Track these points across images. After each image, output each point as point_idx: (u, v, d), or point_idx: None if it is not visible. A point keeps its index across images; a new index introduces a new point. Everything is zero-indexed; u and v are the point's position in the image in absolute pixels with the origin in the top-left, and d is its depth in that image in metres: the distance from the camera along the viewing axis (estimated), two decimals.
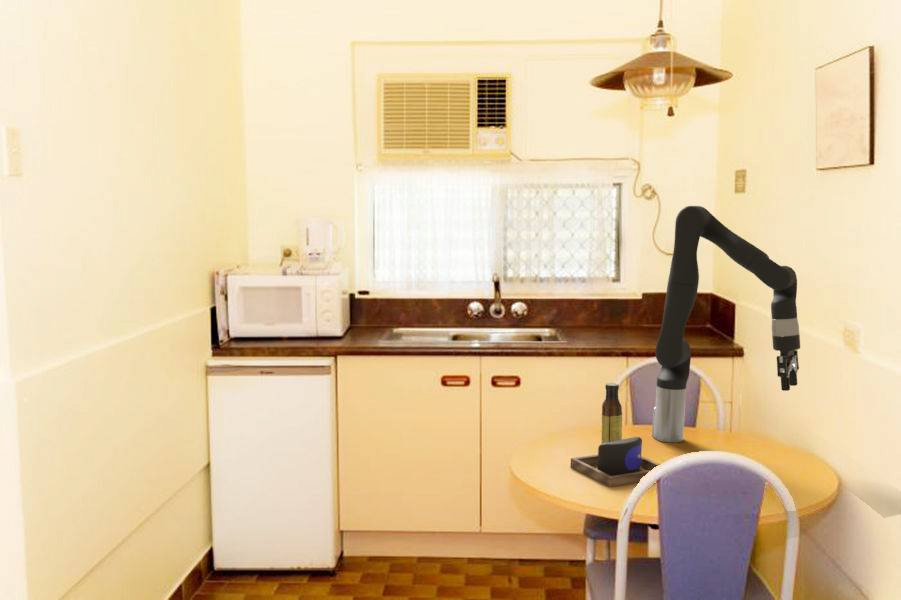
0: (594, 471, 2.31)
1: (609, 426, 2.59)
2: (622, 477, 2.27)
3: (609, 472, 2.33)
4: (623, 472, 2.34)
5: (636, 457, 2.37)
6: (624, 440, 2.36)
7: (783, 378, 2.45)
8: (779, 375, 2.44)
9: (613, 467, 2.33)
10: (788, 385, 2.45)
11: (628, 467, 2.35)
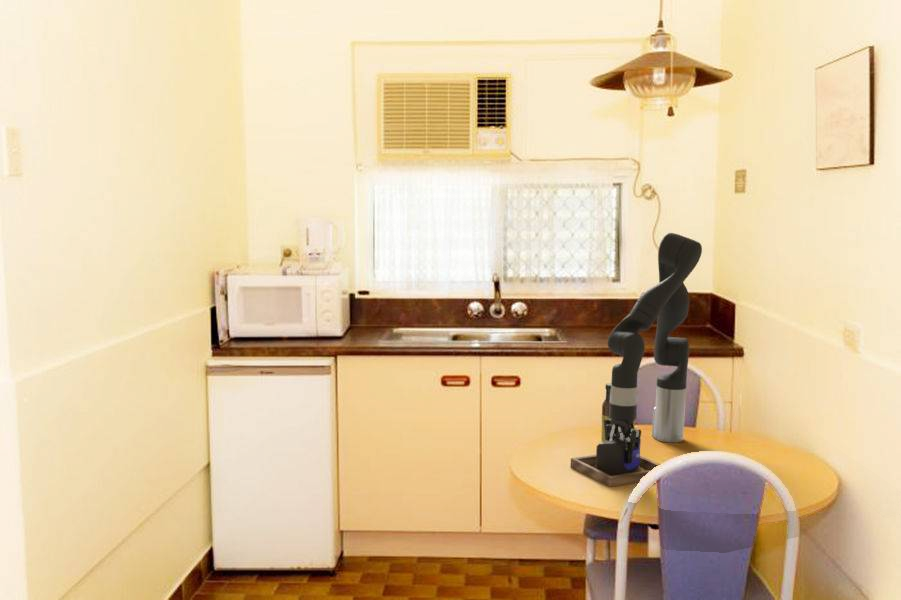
0: (594, 471, 2.31)
1: None
2: (622, 477, 2.27)
3: (607, 471, 2.33)
4: (621, 471, 2.34)
5: (635, 456, 2.37)
6: None
7: None
8: None
9: (611, 466, 2.33)
10: None
11: (626, 466, 2.35)
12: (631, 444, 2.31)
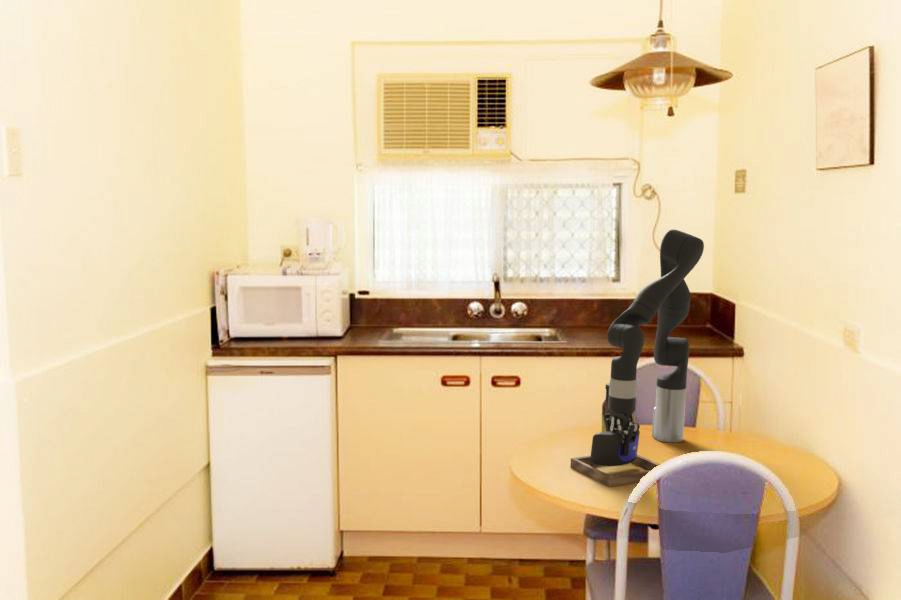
0: (594, 471, 2.31)
1: (609, 426, 2.59)
2: (622, 477, 2.27)
3: (601, 461, 2.35)
4: (616, 463, 2.36)
5: (631, 449, 2.38)
6: None
7: None
8: None
9: (605, 457, 2.35)
10: None
11: (621, 458, 2.36)
12: (628, 437, 2.32)
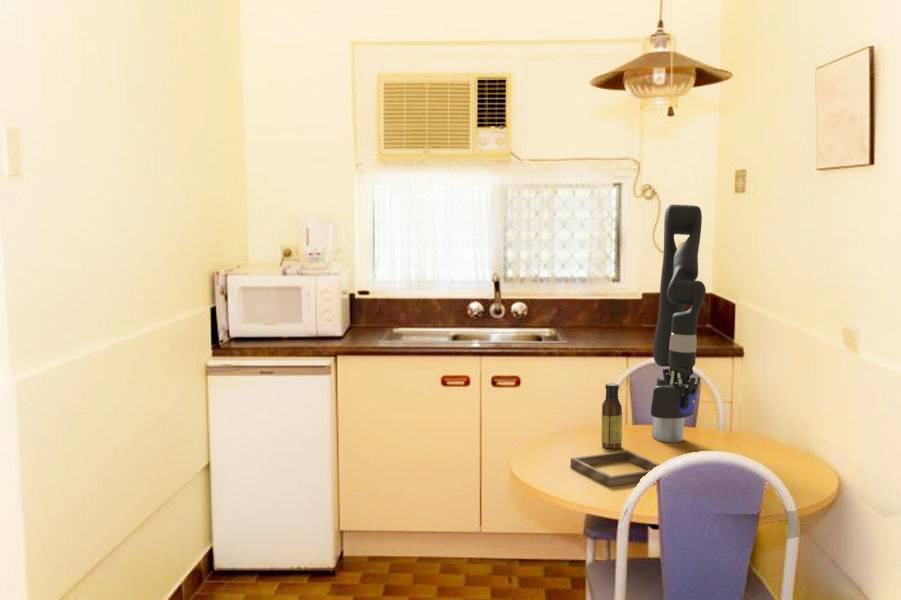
0: (594, 471, 2.31)
1: (609, 426, 2.59)
2: (622, 477, 2.27)
3: (662, 414, 2.43)
4: (676, 415, 2.44)
5: (690, 402, 2.46)
6: None
7: None
8: None
9: (666, 409, 2.43)
10: None
11: (681, 411, 2.44)
12: (688, 390, 2.40)
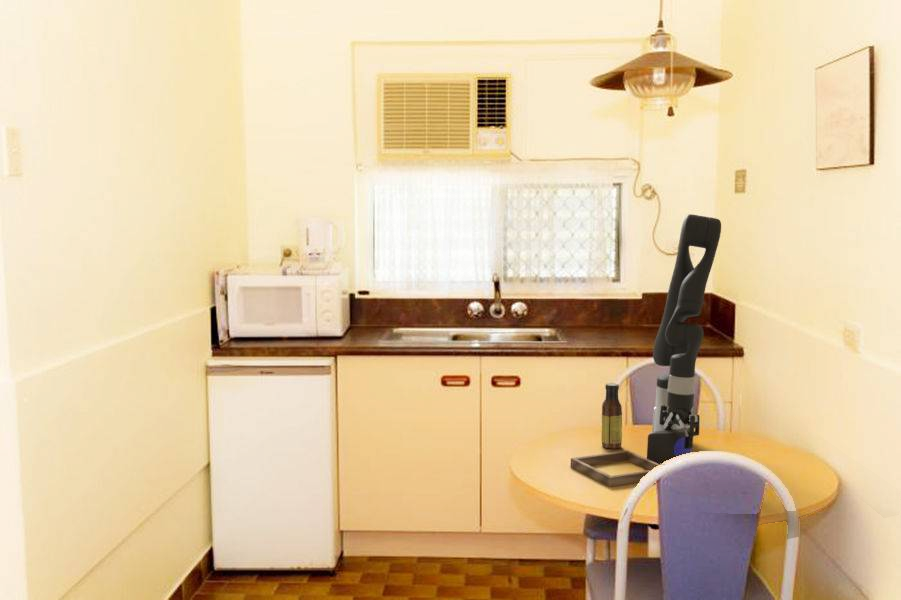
0: (594, 471, 2.31)
1: (609, 426, 2.59)
2: (622, 477, 2.27)
3: (658, 459, 2.45)
4: None
5: None
6: (674, 430, 2.48)
7: None
8: None
9: (661, 455, 2.45)
10: None
11: None
12: (692, 429, 2.39)
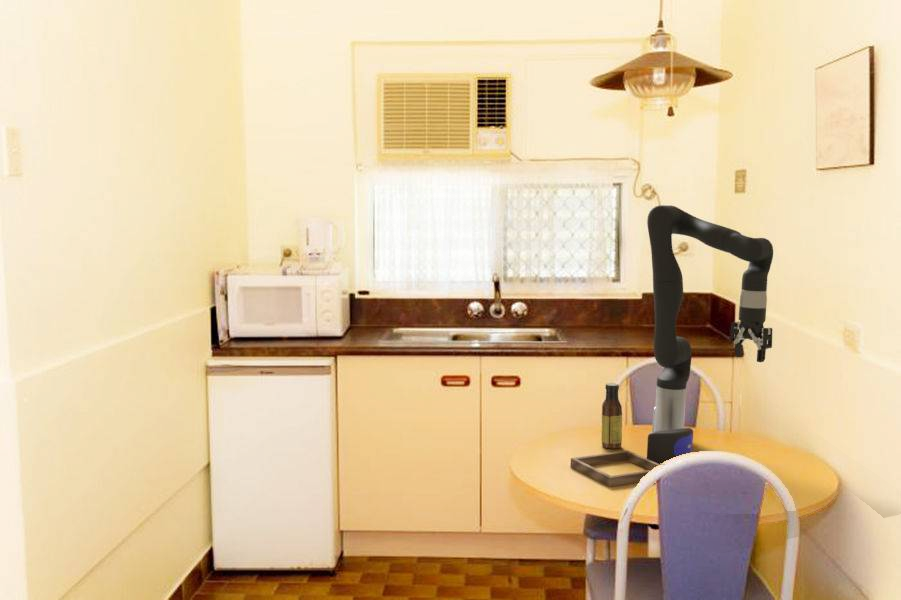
0: (594, 471, 2.31)
1: (609, 426, 2.59)
2: (622, 477, 2.27)
3: (658, 459, 2.45)
4: None
5: (686, 447, 2.48)
6: (674, 430, 2.48)
7: None
8: None
9: (661, 455, 2.45)
10: (736, 351, 2.55)
11: None
12: (765, 342, 2.44)
